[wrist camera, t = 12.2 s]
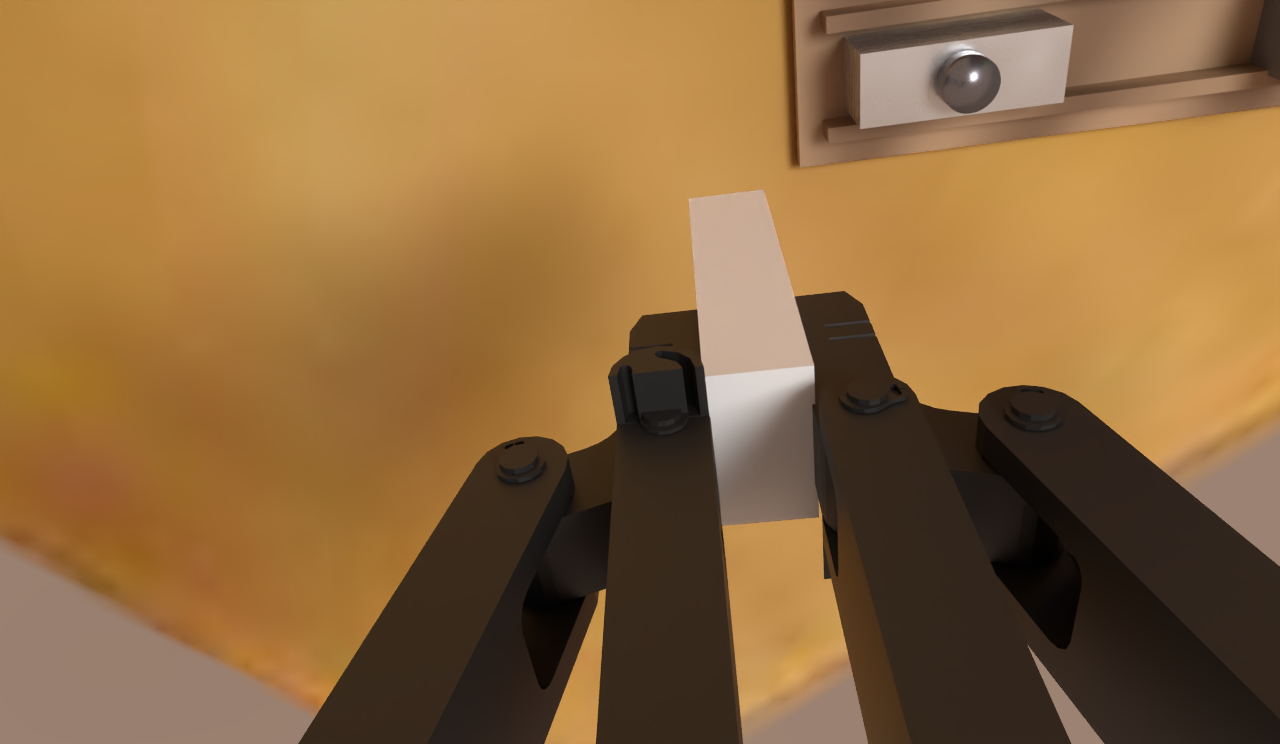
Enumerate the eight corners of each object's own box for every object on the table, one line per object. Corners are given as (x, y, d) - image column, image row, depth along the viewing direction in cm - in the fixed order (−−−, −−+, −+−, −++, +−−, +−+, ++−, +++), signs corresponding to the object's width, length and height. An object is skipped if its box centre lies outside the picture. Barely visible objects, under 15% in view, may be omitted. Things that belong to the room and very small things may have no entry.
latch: (844, 106, 28) (865, 137, 25) (843, 36, 27) (866, 61, 24) (1031, 80, 28) (1074, 109, 25) (1039, 8, 26) (1085, 30, 24)
